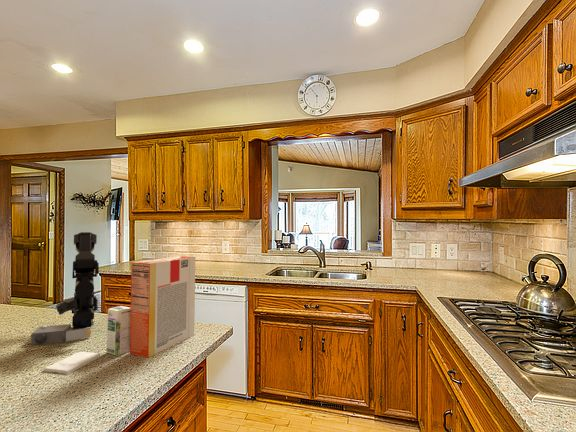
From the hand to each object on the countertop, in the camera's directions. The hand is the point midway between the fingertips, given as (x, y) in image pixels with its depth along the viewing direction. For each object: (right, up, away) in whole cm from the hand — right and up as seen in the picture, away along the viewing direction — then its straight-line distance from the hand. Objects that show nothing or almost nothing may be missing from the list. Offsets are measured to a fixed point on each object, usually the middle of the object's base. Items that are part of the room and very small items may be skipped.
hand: (83, 332), depth 123 cm
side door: (-1, -1, -3) cm, 3 cm away
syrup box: (+20, -2, -13) cm, 24 cm away
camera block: (-10, -2, -3) cm, 10 cm away
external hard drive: (+11, -2, -22) cm, 25 cm away
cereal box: (+32, -2, -5) cm, 33 cm away
